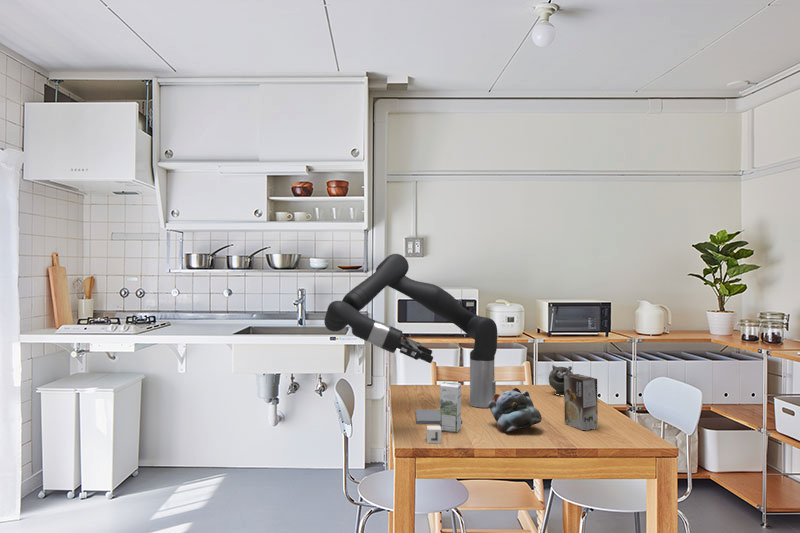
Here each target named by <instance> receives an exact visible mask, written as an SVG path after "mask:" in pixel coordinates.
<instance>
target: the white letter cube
mask: <svg viewBox="0 0 800 533" xmlns="http://www.w3.org/2000/svg"><path fill="white" fill-rule="evenodd" d="M426 441H427V442H426V443H427V444H442V431H441V426H440V425H431V424H426Z"/></svg>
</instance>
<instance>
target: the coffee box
mask: <svg viewBox="0 0 800 533" xmlns="http://www.w3.org/2000/svg"><path fill="white" fill-rule="evenodd" d="M563 399H564V400H563V402H564V405H563V406H564V407H563V408H564V410H563V411H564V424H565V423H566V424H565V425H567V424H568V425H567V426H570V425H571V426H570V427H573V428H575V427H576V429H578V430H581V431H583V430H586V431H590V429H592V430H595V429H594V428H599V426H598V420H599V418H598V411H599V410H598V378H596V377H595V378H594V377H592V376H587V375H583V374H578V373H573V374H572V375H564V397H563Z"/></svg>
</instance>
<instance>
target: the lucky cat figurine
mask: <svg viewBox="0 0 800 533" xmlns="http://www.w3.org/2000/svg"><path fill="white" fill-rule="evenodd" d="M533 403H534V402H533V400H532V399H531V396H530V392H529V391H527V390H524V391H523V392H522V391H521V390H520V389H519V388H517V387H514V388H513V389H512V390H506V391H504V392H502V393H501V394H498V393H496V394H495V395H494V398H493V400H492V401H490V402H489V403H488V406H489V407H488V408H489V410H490V412H491V414H492V416H493V418H494V420H495V422H496V424H497V429H498V431H499V432H501V433H504V434H507V433H509V432H511V431H512V432H513V431H515V430H517V429H521V428H526V427H532V426H535V425H537V424H540V423H541V421H542V419H543V418H542V415H541V413H540V411H539V410H538V409H537V408H536V407H535V406H534V404H533Z"/></svg>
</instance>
